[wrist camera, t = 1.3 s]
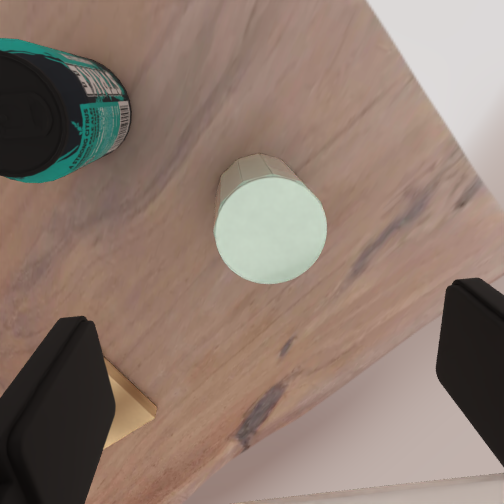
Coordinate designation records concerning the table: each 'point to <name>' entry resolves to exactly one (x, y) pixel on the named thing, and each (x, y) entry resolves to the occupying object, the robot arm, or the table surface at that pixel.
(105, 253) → the table surface
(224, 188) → the cup
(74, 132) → the beverage can
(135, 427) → the cup stand
